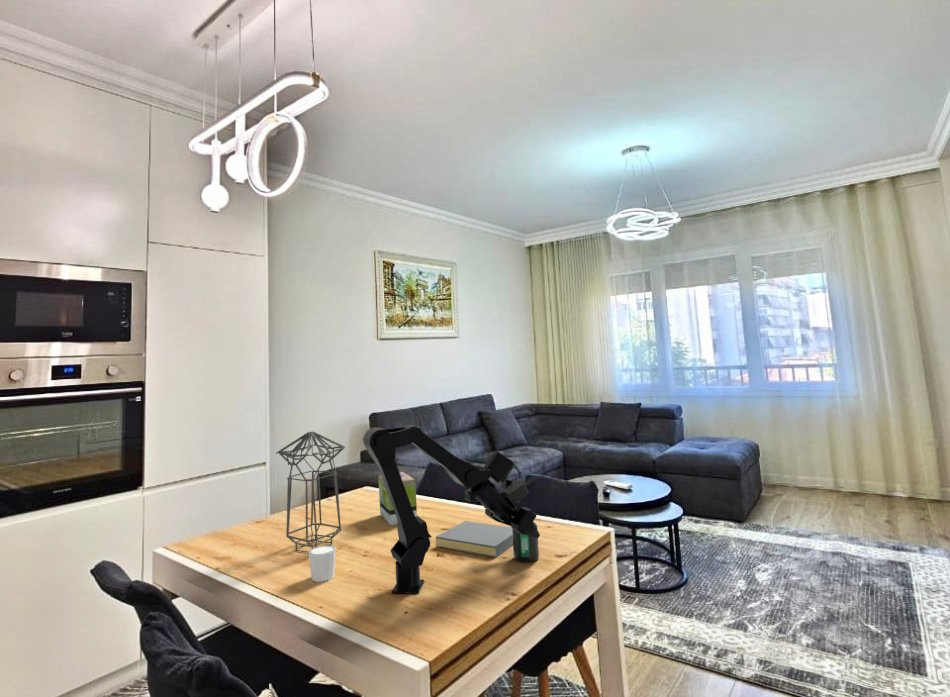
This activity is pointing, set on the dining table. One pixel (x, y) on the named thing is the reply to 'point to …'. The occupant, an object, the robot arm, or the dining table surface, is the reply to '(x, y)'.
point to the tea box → (385, 501)
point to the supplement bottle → (525, 547)
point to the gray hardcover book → (477, 538)
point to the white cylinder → (322, 563)
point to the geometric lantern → (297, 448)
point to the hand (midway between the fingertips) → (529, 531)
